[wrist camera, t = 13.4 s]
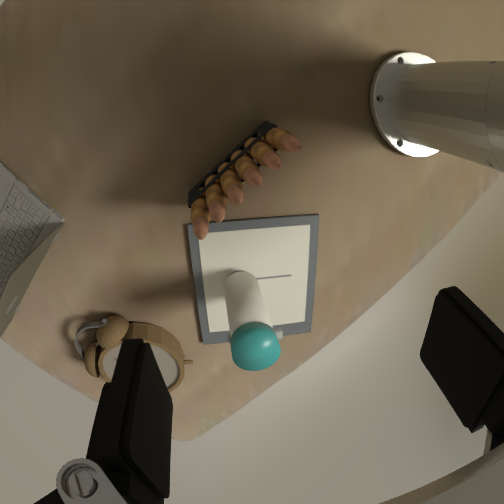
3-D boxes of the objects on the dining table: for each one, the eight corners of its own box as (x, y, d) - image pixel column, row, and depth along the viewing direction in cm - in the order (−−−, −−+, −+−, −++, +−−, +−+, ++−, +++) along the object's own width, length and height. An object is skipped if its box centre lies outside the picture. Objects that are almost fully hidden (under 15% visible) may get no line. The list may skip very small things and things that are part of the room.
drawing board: (317, 213, 35) (321, 217, 34) (309, 329, 42) (312, 335, 41) (187, 223, 33) (187, 228, 32) (203, 342, 40) (203, 348, 39)
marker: (257, 263, 36) (281, 332, 25) (257, 294, 38) (279, 367, 27) (220, 267, 35) (230, 338, 25) (223, 297, 37) (233, 373, 26)
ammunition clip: (200, 205, 33) (200, 256, 22) (188, 193, 32) (180, 239, 21) (278, 133, 31) (318, 148, 20) (265, 120, 30) (300, 127, 19)
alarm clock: (162, 406, 41) (61, 376, 33) (158, 380, 45) (65, 348, 37) (203, 361, 38) (88, 320, 30) (196, 334, 42) (93, 292, 34)
